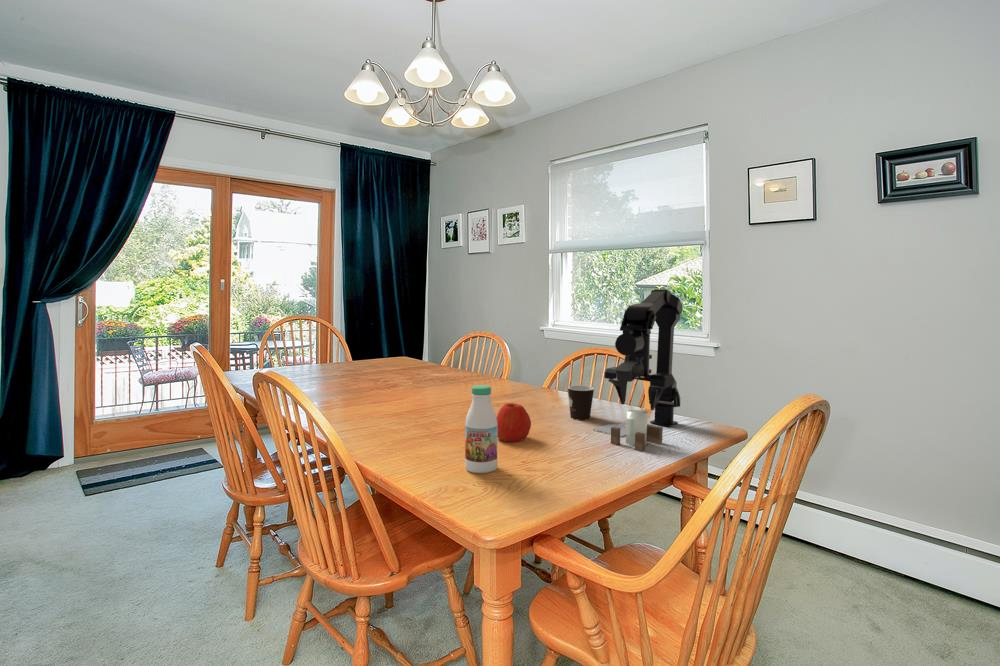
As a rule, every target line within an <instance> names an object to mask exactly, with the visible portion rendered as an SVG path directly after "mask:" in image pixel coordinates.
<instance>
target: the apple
mask: <svg viewBox="0 0 1000 666" xmlns="http://www.w3.org/2000/svg"><path fill="white" fill-rule="evenodd" d="M496 418H497V439H499V440H501V441H504V442H507V441H508V442H507V443H510V442H511V443H517V442H521V441H523V440H525V439H526V438H527V437H528V436H529V433H530V430H531V427H532V422H531V417H530V415H529V413H528V412H527V410H526V409H525V407H524V406H523V405H521V404H519V403H513V402H512V403H509V402H506V403H504V404H503V405H502V406H501V408H500V409H499V411H498V412H497V414H496Z"/></svg>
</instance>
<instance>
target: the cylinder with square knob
mask: <svg viewBox="0 0 1000 666" xmlns="http://www.w3.org/2000/svg"><path fill="white" fill-rule="evenodd" d="M625 423H626V424H625V427H626V436H625V444H626V443H627V444H626V445H628V444H629V445H628V446H631V445H632V446H631V447H635V433H637V432H640V433H644V434H645V446H647V443H648V441H647V424H648V411H646V410H643V409H639V408H638V409H627V410H626V421H625Z"/></svg>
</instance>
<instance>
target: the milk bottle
mask: <svg viewBox="0 0 1000 666" xmlns="http://www.w3.org/2000/svg"><path fill="white" fill-rule="evenodd" d="M491 393H492V387H491V386H490V385H487V384H485V385H484V384H477V385H473V386H472V387H471V397H472V401H471V404H470V407H469V409H468V412H467V414H466V418H465V429H464V430H465V432H464V435H465V436H464V437H465V438H464V439H465V440H464V448H465V449H464V459H465V460H464V465H465V470H467V471H468V472H470V473H473V474H489V473H492V472H495V471H496V470H497V469H498V437H497V414H496V411H495V409H494V408H493V405H492V402H491V401H492V400H491V396H492V394H491Z"/></svg>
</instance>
